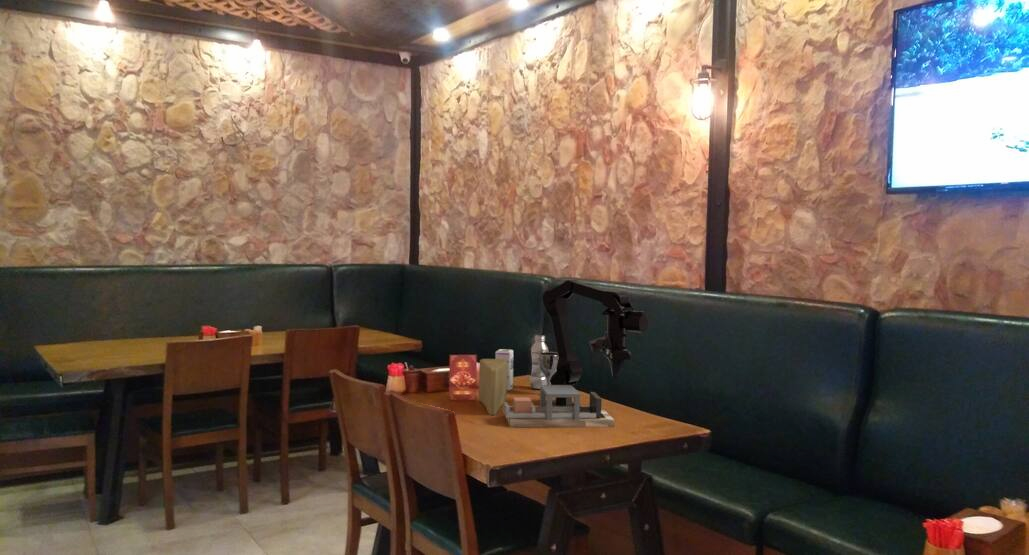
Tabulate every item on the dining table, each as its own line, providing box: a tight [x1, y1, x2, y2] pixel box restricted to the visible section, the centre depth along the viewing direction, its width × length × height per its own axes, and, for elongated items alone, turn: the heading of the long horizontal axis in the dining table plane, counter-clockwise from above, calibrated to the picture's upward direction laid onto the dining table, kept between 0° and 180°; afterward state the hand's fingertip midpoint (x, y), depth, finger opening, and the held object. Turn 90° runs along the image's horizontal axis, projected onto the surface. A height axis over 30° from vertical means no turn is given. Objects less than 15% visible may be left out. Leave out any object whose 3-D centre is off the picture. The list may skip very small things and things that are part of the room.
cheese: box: [478, 358, 508, 416], centre depth 263 cm, size 22×10×15 cm, turn 1°
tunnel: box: [539, 384, 581, 420], centre depth 247 cm, size 14×10×8 cm
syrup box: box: [495, 348, 514, 392], centre depth 295 cm, size 6×6×14 cm
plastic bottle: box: [529, 334, 549, 390], centre depth 296 cm, size 6×7×20 cm
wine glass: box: [538, 351, 559, 396], centre depth 287 cm, size 8×8×15 cm
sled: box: [502, 391, 602, 419], centre depth 247 cm, size 10×29×6 cm, turn 97°
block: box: [512, 396, 533, 413], centre depth 246 cm, size 5×5×5 cm
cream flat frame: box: [506, 409, 616, 428], centre depth 247 cm, size 14×32×2 cm, turn 97°
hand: (614, 377), depth 260 cm, fingers closed
